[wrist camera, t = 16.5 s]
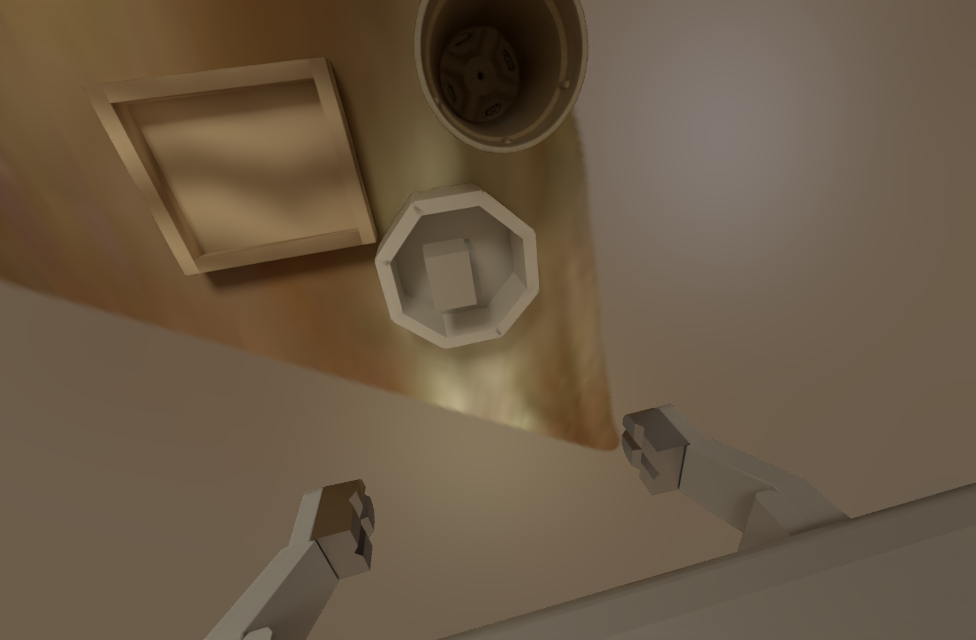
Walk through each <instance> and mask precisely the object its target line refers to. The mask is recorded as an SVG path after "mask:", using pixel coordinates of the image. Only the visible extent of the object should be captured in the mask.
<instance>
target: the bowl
mask: <svg viewBox="0 0 976 640" xmlns="http://www.w3.org/2000/svg"><path fill="white" fill-rule="evenodd" d="M458 238H463V240H465V239H469V241H470V243H471V245H472V246H473V248H474V250H475V256H476V261H477V267H478V272H479V278H480V284H481V289H482V295H483V297H479V298H476V302H477V304H475V305H470V306H465V307H459V308H454V309H449V310H444V311H439V312H435V307H434V302H433V298H432V293H431V288H430V284H429V279H428V274H427V270H426V265H425V260H424V253H423V245H424V244H429V243H435V242H441V241H447V240H452V239H458ZM375 265H376V268H377V272H378V275H379V279H380V282H381V286H382V289H383V293H384V296H385V300H386V303H387V307H388V310H389V314H390V317H391V320H393V322H395V323H396V324H398V325H400V326H402V327H404V328H406V329H407V330H409V331H411V332H413V333H415V334H417V335H419V336H420V337H422V338H424V339H426V340H428V341H430V342H432V343H433V344H435V345H437V346H439V347H441V348H443V349H444V348H445V349H449V348H454V347H458V346H463V345H468V344H473V343H477V342H482V341H487V340H492V339H497V338H501V336H504V335H505V333H506V332H507V331H508V330H509V328H510V327H511V326H512V325H513V324H514V322H515V321H516V320H517V319H518V317H519V316H520V315H521V314H522V312H523V311H524V310H525V309H526V308H527V306H528V305H529V304H530V303H531V301H532V300H533V299H534V298H535V297H536V295H537V294H538V293H539V292H538V291H539V277H538V262H537V248H536V233H535V232H534V230H533V229H532V228H531V227H529V226H528V225H527V224H526V223H524V222H523V221H522V220H520V219H519V218H518V217H517V216H515V215H514V214H513V213H512V212H510V211H509V210H508V209H507V208H505V207H504V206H503V205H502V204H500V203H499V202H498V201H497V200H495V199H494V198H493V197H491V196H490V195H489V194H488V193H486V192H485V191H484V190H483V189H481V188H480V187H479V186H477V185H476V184H473V183H470V184H464V185H457V186H443V187H438V188H434V189H431V190H427V191H420V192H414V193H413V195H412V194H411V195H410V197H409V198H408V200H407V201H406V203H405V204H404V206H403V208H402V209H401V210H400V212H399V213H398V214H397V216H396V217H395V219H394V221H393V222H392V224H391V226H390V228H389V229H388V231H387V232H386V234H385V235H384V237H383V239H382V240H381V242H380V243H379V247H378V250H377V254H376V257H375Z"/></svg>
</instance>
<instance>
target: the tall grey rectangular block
mask: <svg viewBox="0 0 976 640" xmlns="http://www.w3.org/2000/svg"><path fill="white" fill-rule="evenodd" d="M464 242H465V244H466V246H467V248H468V250H469V256H470V263H471V269H472V276H473V282H474V289H475V295H476V298H479V297H483V295H482V289H481V284H480V278H479V272H478V267H477V261H476V256H475V250H474V248H473V246H472V245H471V243H470V241H469V239H465V240H464Z"/></svg>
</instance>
